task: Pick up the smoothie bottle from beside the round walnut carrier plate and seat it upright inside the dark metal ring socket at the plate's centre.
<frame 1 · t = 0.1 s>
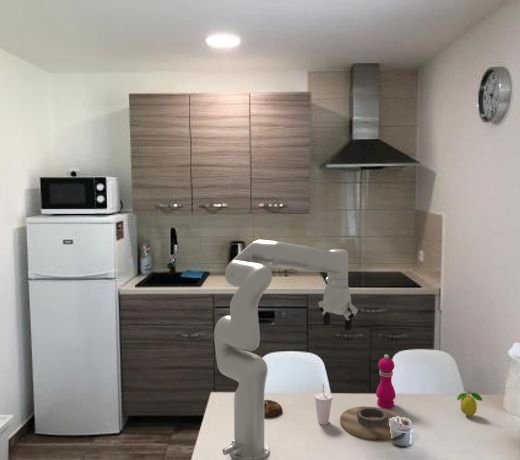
hand: (337, 327, 182), 31 cm above the table, tool pointing down, fingers open, 9 cm apart
smoothie: (323, 422, 173), on the table
bread roll: (267, 412, 182), on the table
carrier plate: (371, 424, 171), on the table
lemon: (468, 416, 177), on the table
pepper mill: (385, 405, 186), on the table
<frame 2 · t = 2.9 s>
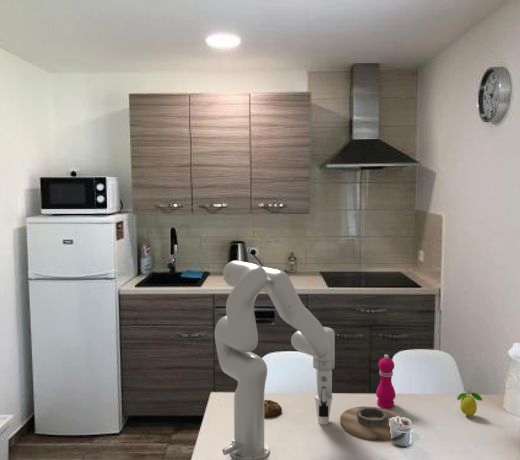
hand: (323, 411, 172), 4 cm above the table, tool pointing down, fingers closed on smoothie, 5 cm apart
smoothie: (323, 422, 173), on the table, touching gripper
everything else where it was.
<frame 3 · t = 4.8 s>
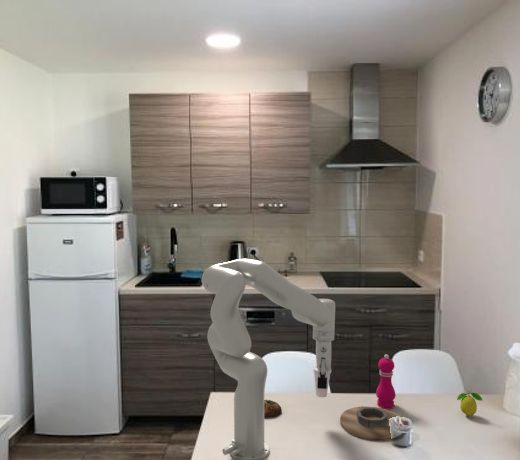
hand: (321, 384, 171), 14 cm above the table, tool pointing down, fingers closed on smoothie, 5 cm apart
smoothie: (321, 395, 171), point 10 cm above the table, touching gripper
everything else where it was.
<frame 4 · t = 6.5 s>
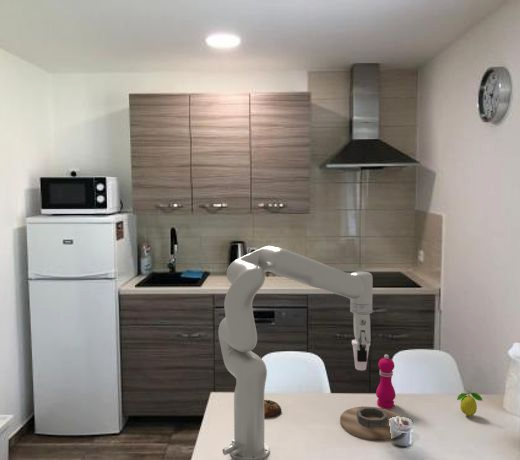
hand: (360, 357, 170), 24 cm above the table, tool pointing down, fingers closed on smoothie, 5 cm apart
smoothie: (360, 368, 170), point 20 cm above the table, touching gripper
everything else where it was.
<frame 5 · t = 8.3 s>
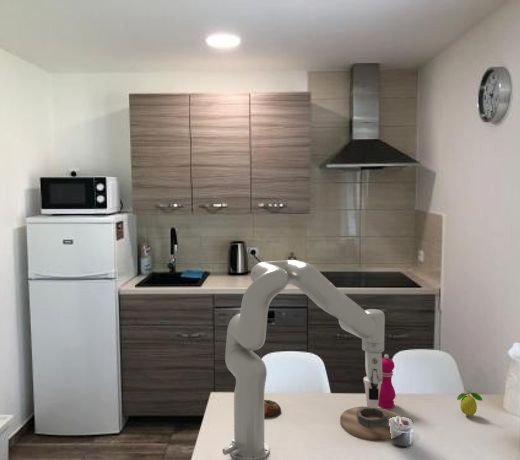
hand: (372, 395, 170), 11 cm above the table, tool pointing down, fingers closed on smoothie, 5 cm apart
smoothie: (372, 406, 170), point 7 cm above the table, touching gripper
everything else where it was.
when the fingers open (6 cm above the table, at t = 9.7 s): smoothie stays where it is, resting on carrier plate.
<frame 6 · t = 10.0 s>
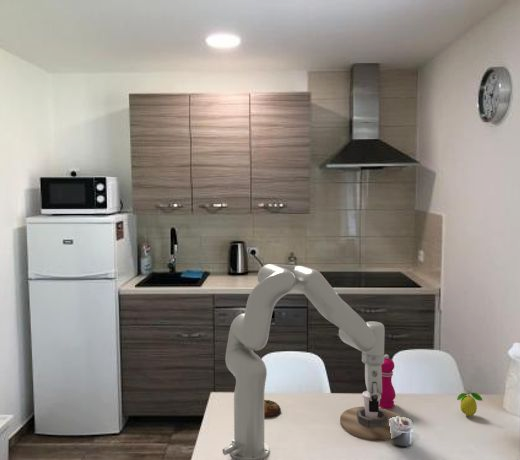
hand: (372, 405, 170), 7 cm above the table, tool pointing down, fingers open, 8 cm apart
smoothie: (371, 421, 171), point 1 cm above the table, touching carrier plate
everything else where it was.
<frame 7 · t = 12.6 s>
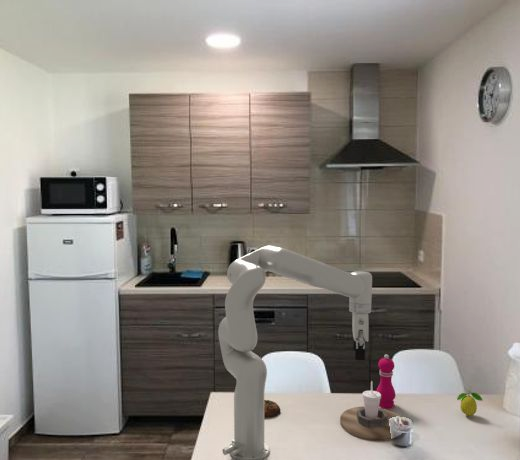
hand: (358, 355, 170), 25 cm above the table, tool pointing down, fingers open, 9 cm apart
nothing on the table moved.
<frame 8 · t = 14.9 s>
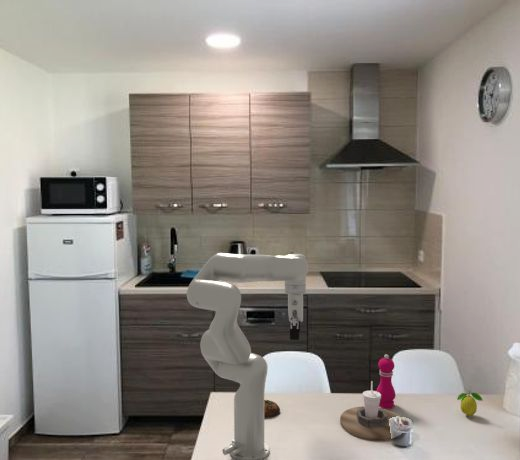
hand: (295, 335, 175), 30 cm above the table, tool pointing down, fingers open, 9 cm apart
nothing on the table moved.
at the end: smoothie 0.3 cm off-centre on the carrier plate, point 1.3 cm above the carrier plate's base; smoothie tilted 0°; the gripper is holding nothing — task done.
